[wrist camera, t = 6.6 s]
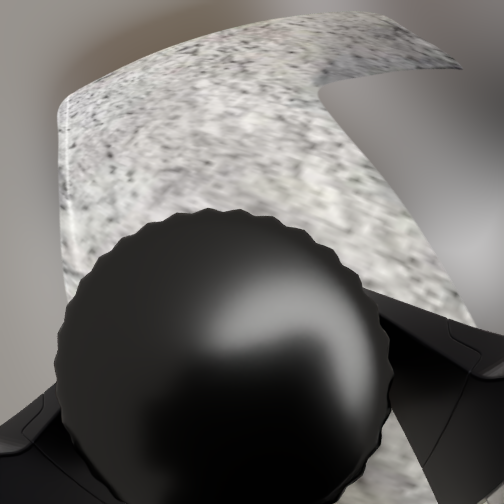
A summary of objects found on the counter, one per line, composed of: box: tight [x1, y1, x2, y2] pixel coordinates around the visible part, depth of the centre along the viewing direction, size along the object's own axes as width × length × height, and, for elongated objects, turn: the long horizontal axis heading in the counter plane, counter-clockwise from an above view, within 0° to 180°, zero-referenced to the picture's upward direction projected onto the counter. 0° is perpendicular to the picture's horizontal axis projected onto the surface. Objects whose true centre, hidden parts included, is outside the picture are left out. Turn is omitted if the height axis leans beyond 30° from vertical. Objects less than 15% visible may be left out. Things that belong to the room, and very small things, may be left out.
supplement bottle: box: [54, 208, 394, 504], centre depth 9 cm, size 7×7×12 cm
